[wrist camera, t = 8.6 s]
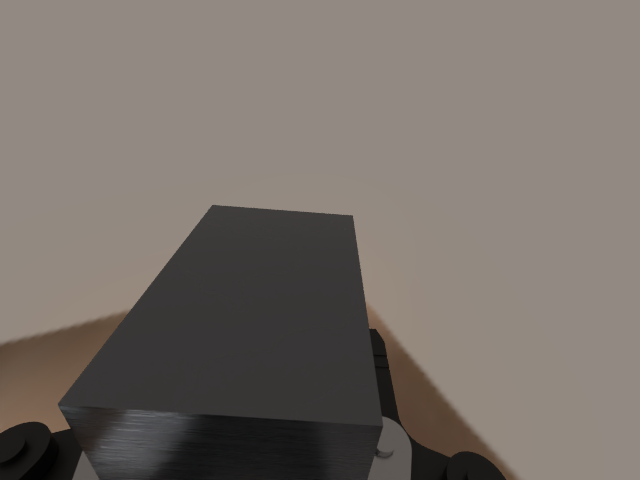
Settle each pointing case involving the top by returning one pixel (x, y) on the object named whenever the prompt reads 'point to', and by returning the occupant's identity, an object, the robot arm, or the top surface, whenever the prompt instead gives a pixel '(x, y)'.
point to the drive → (239, 360)
